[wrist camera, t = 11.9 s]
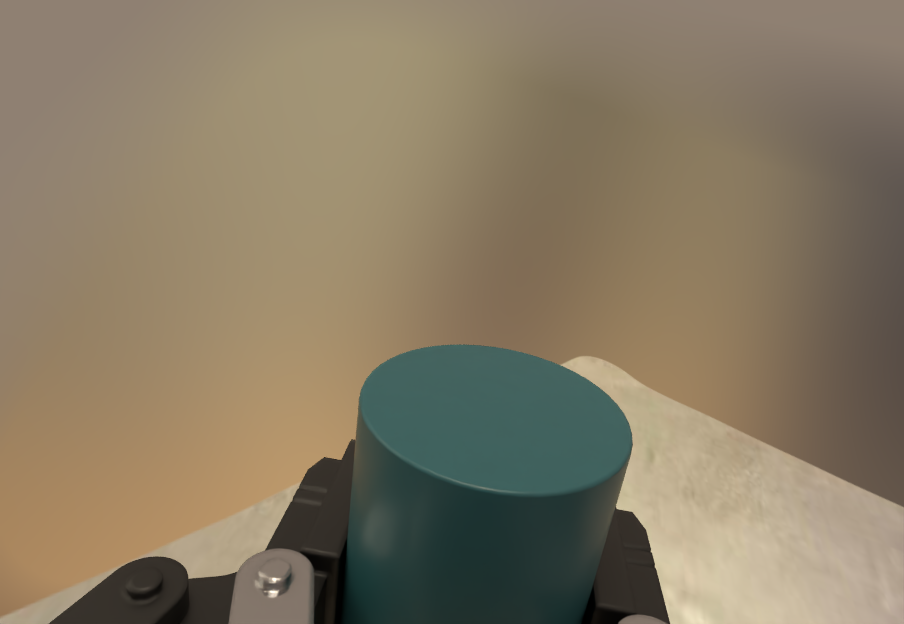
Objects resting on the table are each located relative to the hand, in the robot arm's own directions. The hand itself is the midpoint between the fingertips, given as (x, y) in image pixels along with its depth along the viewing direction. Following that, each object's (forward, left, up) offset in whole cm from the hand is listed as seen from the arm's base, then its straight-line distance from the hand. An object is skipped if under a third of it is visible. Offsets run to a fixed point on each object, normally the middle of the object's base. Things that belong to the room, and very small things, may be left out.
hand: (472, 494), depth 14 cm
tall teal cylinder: (-2, -2, -6) cm, 7 cm away
